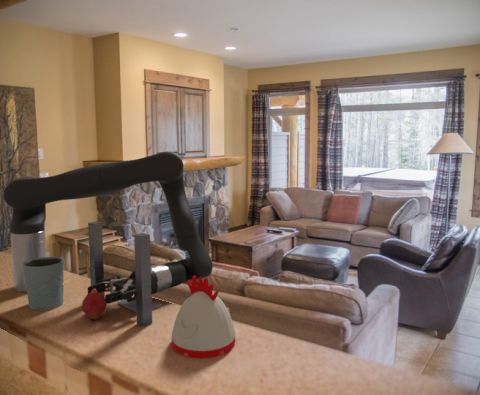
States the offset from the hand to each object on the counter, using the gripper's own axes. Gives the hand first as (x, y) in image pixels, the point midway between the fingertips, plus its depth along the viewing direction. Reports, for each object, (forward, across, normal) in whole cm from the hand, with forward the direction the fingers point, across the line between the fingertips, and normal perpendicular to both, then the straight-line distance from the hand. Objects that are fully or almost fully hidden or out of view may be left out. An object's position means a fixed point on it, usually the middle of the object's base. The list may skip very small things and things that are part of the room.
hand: (96, 295), depth 110 cm
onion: (+1, 0, +6) cm, 6 cm away
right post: (-6, +11, +6) cm, 14 cm away
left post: (-6, -11, +6) cm, 14 cm away
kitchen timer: (-9, +29, +6) cm, 31 cm away
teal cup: (+5, -19, +6) cm, 21 cm away
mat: (-12, 0, +6) cm, 14 cm away
